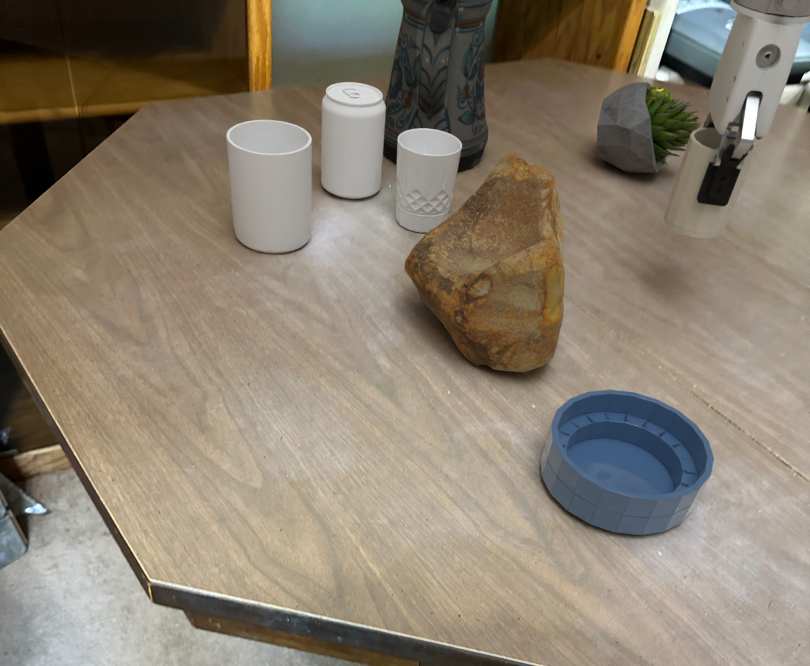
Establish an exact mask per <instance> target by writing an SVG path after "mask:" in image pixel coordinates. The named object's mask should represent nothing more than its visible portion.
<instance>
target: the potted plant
mask: <svg viewBox="0 0 810 666" xmlns="http://www.w3.org/2000/svg"><path fill="white" fill-rule="evenodd" d="M680 100H681V98H678V99H675V98H674V97H673V94H672V92H671V91H670V89H668V88H666V87H664V86H658V87H657V85H651V84H650V83H649V81H640V82H639V81H635V82H632V83H628V84H625V85H623V86H621V87H620V88H618V89H616V90H614V91H612V93H610V94H609V95H607V96H606V97H605V98H603V99H602V103H601V106H600V111H599V116H598V120H597V125H596V147H597V155H598V158H599V159H601V160H603V161H604V162H607V163H608V164H610V165H612V166H614V167H616V168H617V169H619V170H621V171H623V172H624V173H627V174H628V173H658V172H659V171H660V170H661V169H662V168H663V167H664V166H665V165H668V163H667V158H669V157H670V156H673V157H679V158H680V157H682V156H681V155H679V154H677V153H674V152H671V151H677V152H685V150H686V148H685V147H686V146H687V144H688V141H689V138H690V135H691V133H692V132H693V131H694V130H697V129H699V128H702V126H701V124H702V122H700V121H699V120H698V119H700V117H699V115H695V114H696V113H699V112H700V111H699V110H697V111H696V110H687V109H688V108H689V107H692V106H693V104H691V101H688V102H686V100H684V101H681V102H679V101H680ZM682 147H683V148H682Z"/></svg>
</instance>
